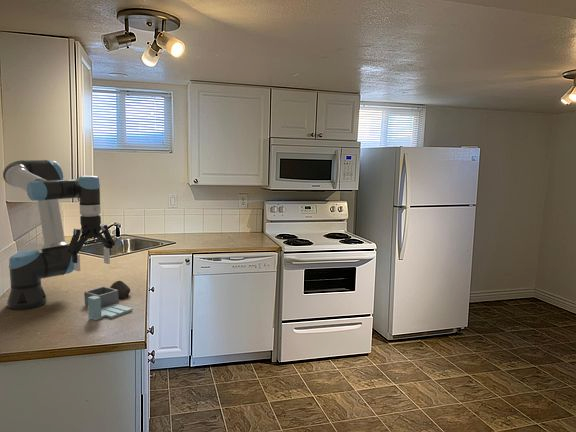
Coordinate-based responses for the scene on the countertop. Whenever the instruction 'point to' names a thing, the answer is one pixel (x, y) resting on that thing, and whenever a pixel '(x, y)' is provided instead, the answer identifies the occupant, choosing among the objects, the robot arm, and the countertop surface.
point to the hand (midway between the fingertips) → (92, 266)
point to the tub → (103, 296)
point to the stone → (121, 289)
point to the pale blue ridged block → (104, 309)
